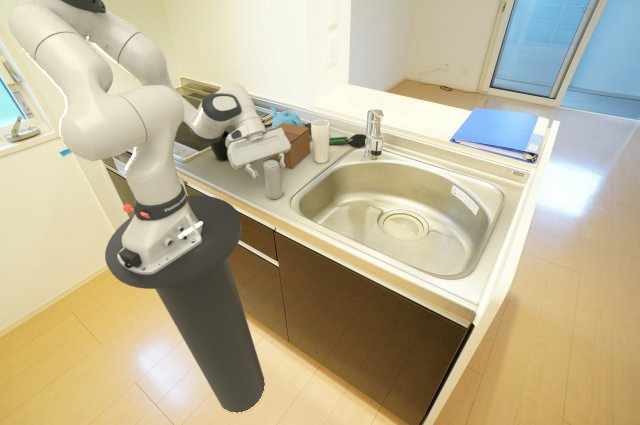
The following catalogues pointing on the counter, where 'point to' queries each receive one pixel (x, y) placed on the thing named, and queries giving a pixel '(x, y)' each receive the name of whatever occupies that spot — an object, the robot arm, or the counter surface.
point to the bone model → (304, 126)
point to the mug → (221, 148)
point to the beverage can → (272, 179)
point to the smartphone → (308, 127)
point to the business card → (337, 140)
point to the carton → (295, 145)
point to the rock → (357, 140)
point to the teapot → (285, 118)
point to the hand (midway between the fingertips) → (269, 172)
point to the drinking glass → (320, 140)
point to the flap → (291, 137)
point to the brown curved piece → (267, 124)
